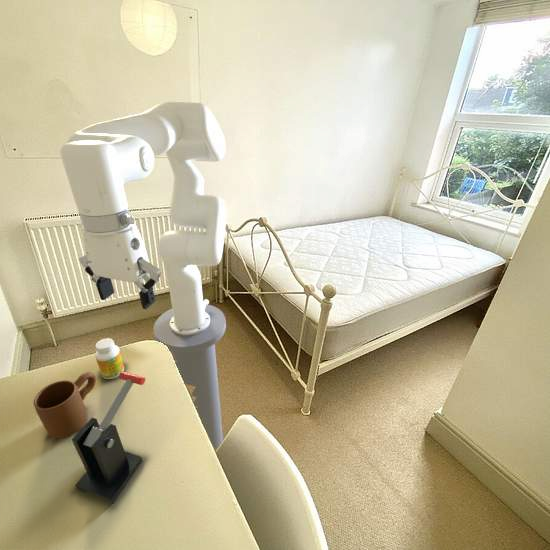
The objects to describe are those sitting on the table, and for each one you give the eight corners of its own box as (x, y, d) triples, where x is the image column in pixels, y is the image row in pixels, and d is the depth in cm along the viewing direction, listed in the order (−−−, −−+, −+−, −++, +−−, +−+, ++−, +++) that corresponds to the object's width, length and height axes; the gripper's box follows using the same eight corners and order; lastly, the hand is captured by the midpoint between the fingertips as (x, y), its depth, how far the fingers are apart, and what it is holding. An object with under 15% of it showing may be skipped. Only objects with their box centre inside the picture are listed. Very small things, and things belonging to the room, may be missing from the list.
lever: (126, 374, 62) (120, 369, 60) (147, 380, 60) (142, 375, 59) (83, 444, 54) (75, 441, 52) (107, 453, 53) (99, 450, 51)
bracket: (109, 448, 63) (93, 406, 57) (142, 460, 61) (129, 418, 55) (76, 489, 56) (54, 447, 50) (113, 504, 54) (94, 462, 48)
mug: (91, 390, 75) (81, 361, 71) (113, 402, 72) (103, 373, 68) (40, 430, 66) (24, 400, 61) (62, 446, 63) (47, 416, 58)
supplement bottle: (112, 382, 77) (103, 353, 73) (97, 375, 79) (86, 347, 74) (129, 368, 82) (121, 339, 77) (114, 361, 83) (105, 333, 79)
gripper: (163, 218, 54) (176, 298, 63) (82, 207, 58) (106, 283, 67) (135, 234, 48) (154, 320, 56) (47, 220, 52) (77, 303, 60)
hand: (128, 300), depth 62 cm, fingers open, 9 cm apart
